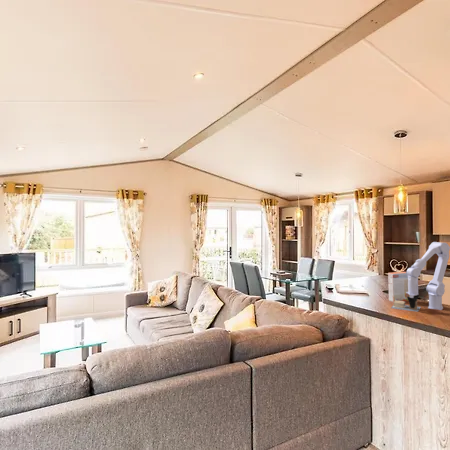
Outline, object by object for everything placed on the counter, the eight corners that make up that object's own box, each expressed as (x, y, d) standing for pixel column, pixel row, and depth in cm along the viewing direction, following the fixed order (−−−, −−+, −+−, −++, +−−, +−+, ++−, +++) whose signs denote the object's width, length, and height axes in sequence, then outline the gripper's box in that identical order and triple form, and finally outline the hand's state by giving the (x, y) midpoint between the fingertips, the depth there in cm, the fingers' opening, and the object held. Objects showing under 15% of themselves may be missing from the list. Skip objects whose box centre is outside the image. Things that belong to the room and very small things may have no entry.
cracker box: (405, 299, 246) (404, 271, 246) (410, 301, 240) (410, 272, 240) (388, 300, 244) (387, 272, 244) (393, 302, 238) (393, 273, 238)
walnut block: (410, 307, 222) (410, 300, 222) (417, 308, 220) (417, 301, 220) (409, 309, 219) (409, 301, 219) (416, 309, 217) (416, 302, 217)
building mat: (394, 304, 233) (394, 303, 233) (421, 307, 224) (421, 306, 224) (390, 308, 222) (390, 308, 222) (418, 312, 212) (418, 311, 212)
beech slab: (395, 304, 230) (395, 300, 230) (405, 306, 227) (405, 301, 227) (393, 306, 225) (393, 302, 225) (403, 307, 222) (403, 303, 222)
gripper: (408, 283, 227) (408, 303, 228) (404, 287, 216) (404, 308, 216) (419, 284, 223) (420, 305, 223) (416, 288, 212) (417, 309, 212)
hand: (413, 306), depth 219 cm, fingers open, 6 cm apart
